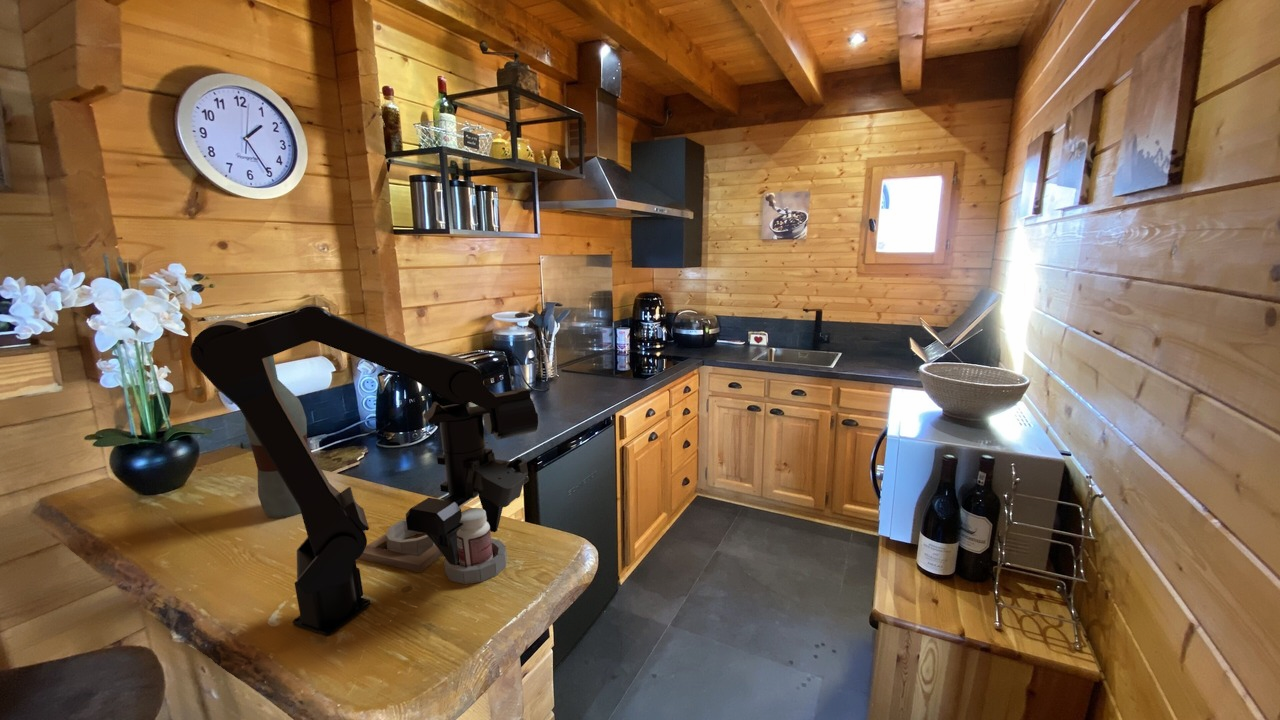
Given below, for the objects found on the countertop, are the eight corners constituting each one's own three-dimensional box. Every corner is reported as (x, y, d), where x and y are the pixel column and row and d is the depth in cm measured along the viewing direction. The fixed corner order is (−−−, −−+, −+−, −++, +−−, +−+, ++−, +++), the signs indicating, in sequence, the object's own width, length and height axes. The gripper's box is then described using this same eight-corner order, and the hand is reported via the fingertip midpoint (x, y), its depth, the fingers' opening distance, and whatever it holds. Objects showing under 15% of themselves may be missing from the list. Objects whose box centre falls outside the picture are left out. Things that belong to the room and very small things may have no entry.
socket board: (419, 572, 77) (417, 553, 76) (358, 558, 81) (355, 540, 81) (472, 532, 88) (471, 515, 87) (416, 521, 92) (414, 505, 92)
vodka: (329, 503, 100) (304, 348, 94) (275, 524, 93) (245, 357, 87) (305, 492, 105) (280, 344, 99) (252, 512, 98) (222, 353, 92)
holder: (482, 588, 73) (481, 575, 72) (433, 577, 76) (432, 564, 75) (517, 555, 81) (516, 543, 80) (471, 546, 84) (470, 534, 83)
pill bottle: (498, 557, 80) (493, 506, 79) (486, 576, 76) (480, 522, 74) (468, 556, 81) (462, 506, 79) (454, 575, 76) (448, 521, 74)
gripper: (468, 479, 63) (480, 596, 66) (547, 430, 80) (554, 524, 83) (396, 469, 67) (410, 579, 70) (486, 424, 84) (495, 514, 87)
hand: (474, 546), depth 78 cm, fingers open, 9 cm apart
